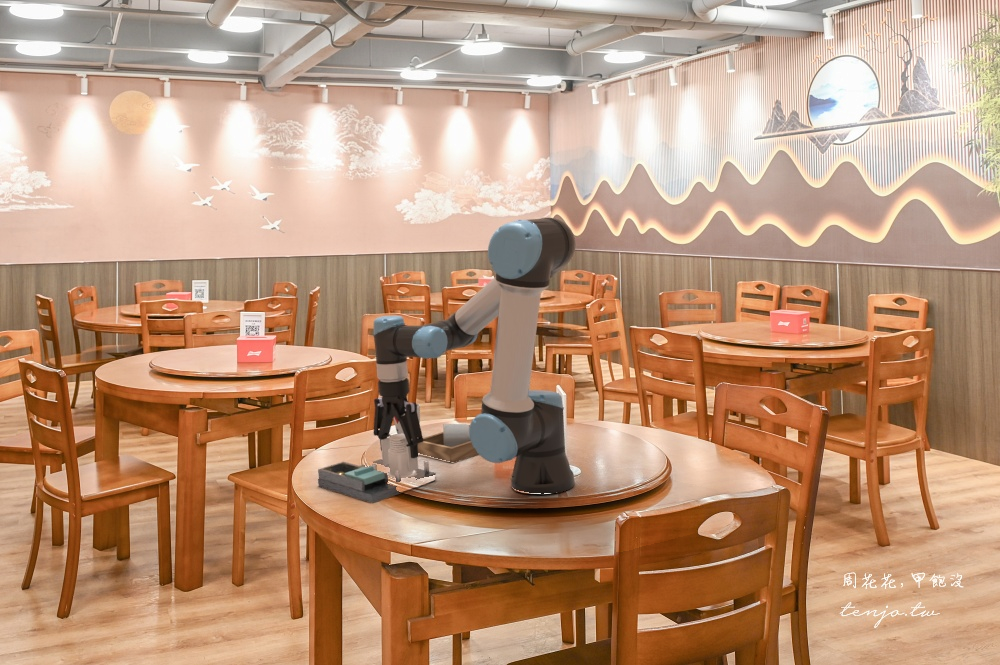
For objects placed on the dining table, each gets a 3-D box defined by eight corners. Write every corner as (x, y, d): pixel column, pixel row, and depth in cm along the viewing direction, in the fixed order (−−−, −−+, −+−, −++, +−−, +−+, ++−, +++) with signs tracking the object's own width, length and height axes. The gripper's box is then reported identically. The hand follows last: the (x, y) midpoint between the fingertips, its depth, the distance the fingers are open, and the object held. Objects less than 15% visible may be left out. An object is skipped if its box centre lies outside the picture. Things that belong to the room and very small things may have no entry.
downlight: (388, 470, 229) (385, 432, 227) (416, 468, 229) (413, 430, 227) (386, 481, 221) (383, 442, 219) (415, 479, 222) (411, 440, 220)
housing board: (436, 480, 225) (434, 461, 224) (372, 503, 211) (370, 482, 210) (381, 466, 241) (379, 448, 240) (318, 486, 227) (316, 467, 226)
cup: (392, 437, 269) (389, 405, 268) (419, 434, 271) (416, 401, 270) (397, 444, 261) (395, 410, 260) (425, 440, 264) (422, 407, 262)
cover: (384, 478, 219) (383, 468, 218) (364, 485, 214) (364, 474, 214) (364, 472, 224) (363, 463, 224) (344, 479, 220) (344, 469, 220)
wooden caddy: (497, 447, 251) (496, 433, 251) (452, 463, 239) (451, 448, 239) (460, 440, 262) (459, 426, 261) (415, 454, 250) (414, 440, 249)
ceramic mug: (473, 452, 248) (472, 425, 247) (444, 454, 248) (442, 427, 247) (471, 443, 259) (470, 416, 258) (443, 445, 258) (441, 419, 257)
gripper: (433, 380, 217) (440, 470, 220) (377, 372, 232) (384, 456, 235) (410, 386, 212) (417, 478, 215) (354, 377, 227) (361, 463, 230)
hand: (400, 466), depth 225 cm, fingers open, 9 cm apart
